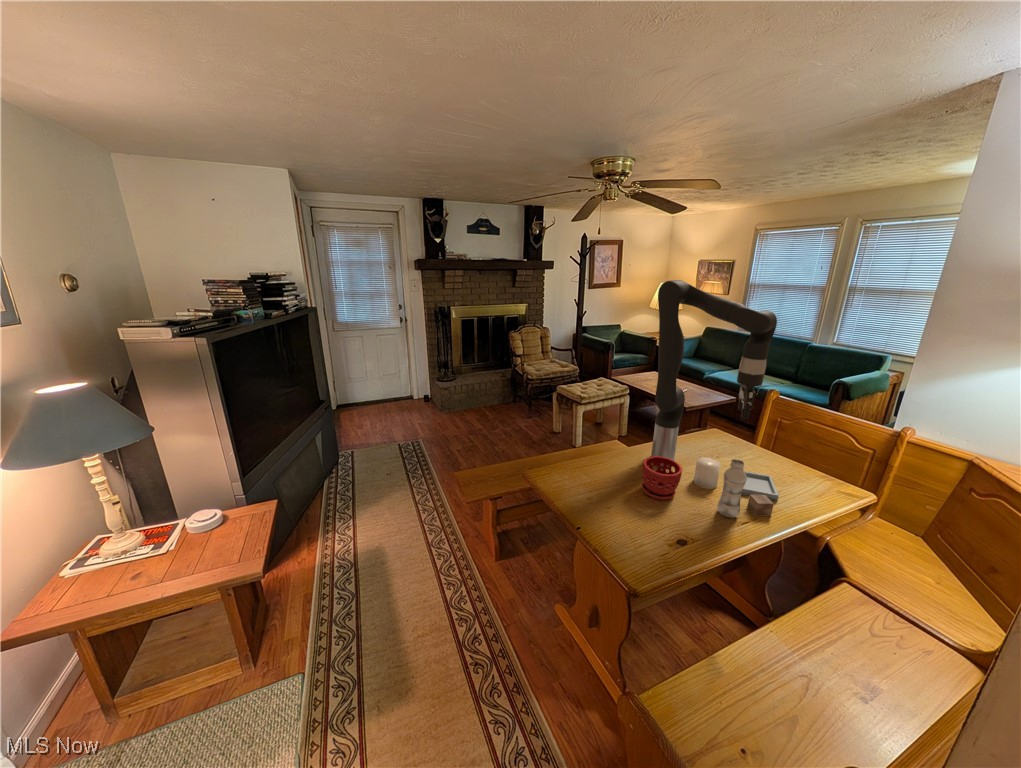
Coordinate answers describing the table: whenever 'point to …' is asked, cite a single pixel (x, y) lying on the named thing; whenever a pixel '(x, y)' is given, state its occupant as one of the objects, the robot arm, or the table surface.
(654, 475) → the plant pot
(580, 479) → the table surface
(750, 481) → the tray
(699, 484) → the white domed cylinder
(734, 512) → the plastic bottle
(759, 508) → the walnut block
